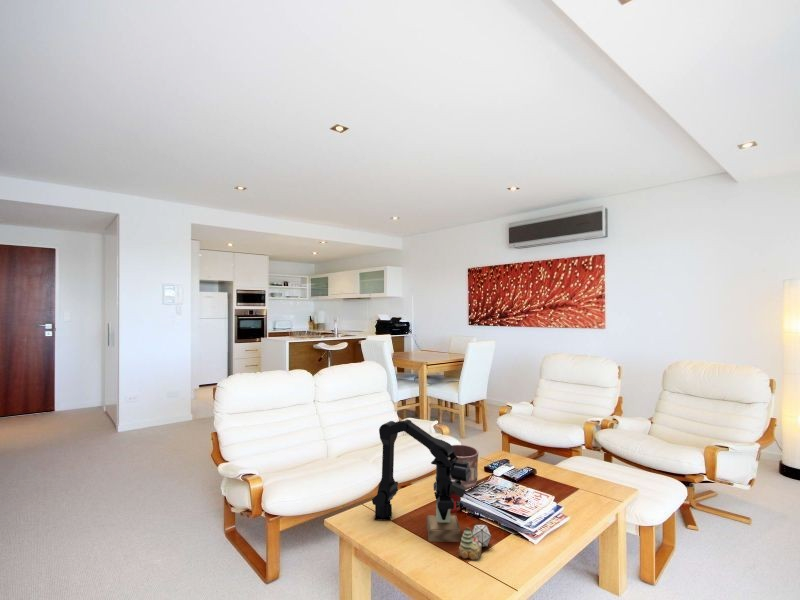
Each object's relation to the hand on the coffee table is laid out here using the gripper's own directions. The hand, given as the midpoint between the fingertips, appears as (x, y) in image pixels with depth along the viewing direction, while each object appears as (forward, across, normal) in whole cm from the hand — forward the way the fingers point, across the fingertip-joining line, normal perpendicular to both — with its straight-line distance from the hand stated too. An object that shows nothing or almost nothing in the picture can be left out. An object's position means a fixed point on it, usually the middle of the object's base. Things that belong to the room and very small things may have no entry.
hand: (443, 516), depth 169 cm
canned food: (+7, +21, -6) cm, 23 cm away
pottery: (+7, +43, -13) cm, 45 cm away
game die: (+7, -9, -13) cm, 17 cm away
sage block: (+1, 0, 0) cm, 1 cm away
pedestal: (+6, 0, 0) cm, 7 cm away
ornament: (+7, -15, -8) cm, 18 cm away
